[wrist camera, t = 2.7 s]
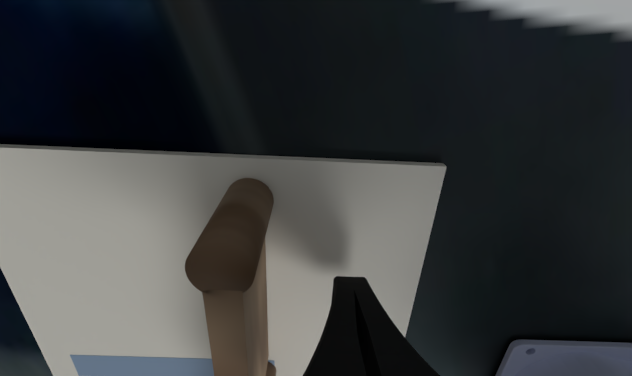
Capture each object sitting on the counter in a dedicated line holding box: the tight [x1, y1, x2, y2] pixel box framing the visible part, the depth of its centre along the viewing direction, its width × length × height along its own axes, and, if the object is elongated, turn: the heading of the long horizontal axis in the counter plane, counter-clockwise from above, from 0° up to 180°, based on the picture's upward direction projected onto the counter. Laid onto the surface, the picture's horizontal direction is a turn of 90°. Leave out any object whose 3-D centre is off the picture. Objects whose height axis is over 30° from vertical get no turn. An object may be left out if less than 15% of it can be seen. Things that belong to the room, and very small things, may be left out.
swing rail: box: [185, 178, 274, 376], centre depth 13 cm, size 13×2×5 cm, turn 177°
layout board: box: [0, 144, 446, 376], centre depth 18 cm, size 20×24×1 cm
